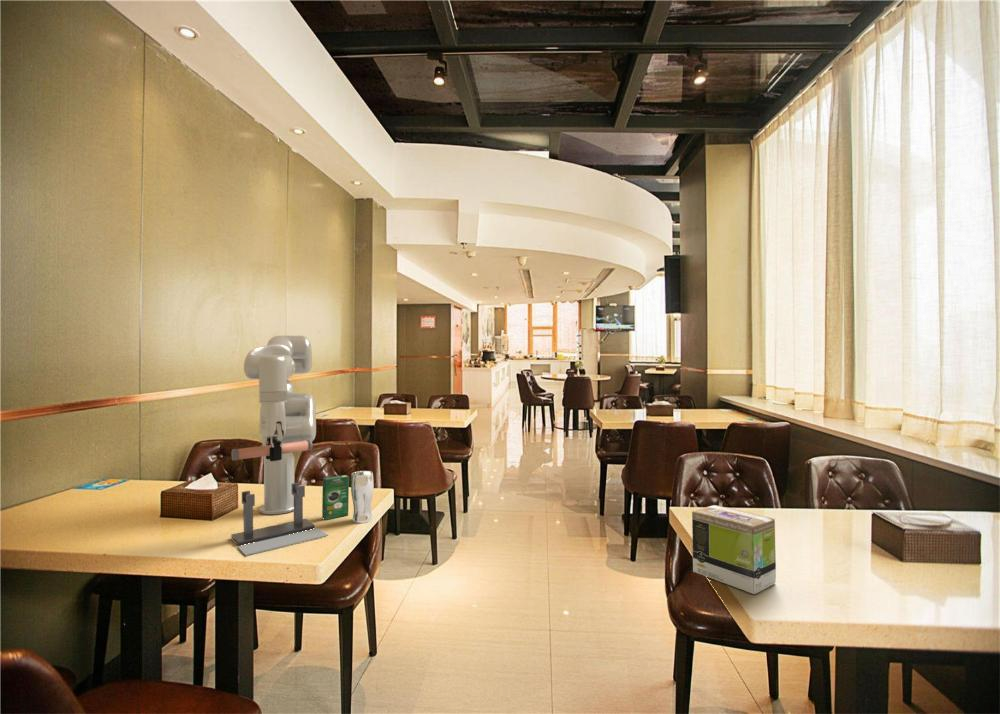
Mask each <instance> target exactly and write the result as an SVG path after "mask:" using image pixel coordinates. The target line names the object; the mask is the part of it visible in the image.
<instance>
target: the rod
mask: <svg viewBox="0 0 1000 714" xmlns="http://www.w3.org/2000/svg"><path fill="white" fill-rule="evenodd" d="M270 447H271V445H267V446H263V445H260V446H251V447H242V448H232V450H231V460H232V461H238V460H246V459H253V458H260V457H261V458H262V457H264V456H270ZM312 450H313V441H311V440H307V441H300V442H292V443H284V444H282V454H285V453H292V454H293V453H299V452H306V451H307V452H309V451H312Z"/></svg>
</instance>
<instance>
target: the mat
mask: <svg viewBox="0 0 1000 714" xmlns="http://www.w3.org/2000/svg"><path fill="white" fill-rule="evenodd" d="M326 536H328V537H329V534H327V533H326V532H325V531H323V530H321V529H320V528H318V527H317V528H316V527H315V529H312V530H307V531H303V532H298V533H294V534H290V535H285V536H281V537H277V538H272V539H268V540H263V541H259V542H255V543H250V544H246V545H242V546H238V545H237V549H238V550H239V551H240V552H241V553H242V554H243V555H244V557H249V556H253V555H257V554H261V553H265V552H270V551H273V550H278V549H281V548H287V547H290V546H289V545H291V546H294V545H293V544H295V545H297V544H296V543H299V544H301V543H300V542H303V543H305V542H304V541H307V542H309V541H308V540H311V541H313V540H312V539H315V540H319V539H323V538H322V537H324V538H327V537H326ZM318 538H319V539H318ZM286 546H287V547H286Z"/></svg>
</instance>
